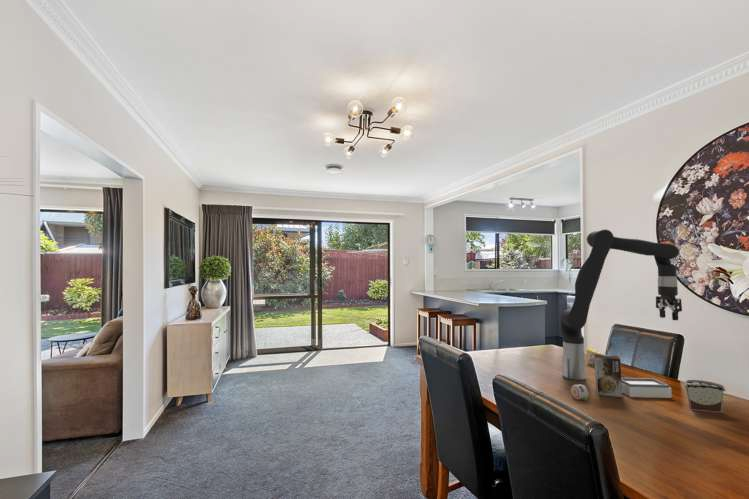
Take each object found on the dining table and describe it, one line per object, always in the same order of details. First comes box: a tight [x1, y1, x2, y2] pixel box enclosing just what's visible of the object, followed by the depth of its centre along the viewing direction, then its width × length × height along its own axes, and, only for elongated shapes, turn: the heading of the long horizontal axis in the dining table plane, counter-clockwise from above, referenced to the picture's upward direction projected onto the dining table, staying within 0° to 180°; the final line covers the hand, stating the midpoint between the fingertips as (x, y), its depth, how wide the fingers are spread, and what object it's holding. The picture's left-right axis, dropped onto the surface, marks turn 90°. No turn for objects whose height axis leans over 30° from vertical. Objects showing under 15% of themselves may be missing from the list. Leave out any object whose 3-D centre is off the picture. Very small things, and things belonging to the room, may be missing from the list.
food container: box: [683, 379, 726, 414], centre depth 142 cm, size 12×6×10 cm, turn 71°
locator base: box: [621, 377, 672, 399], centre depth 158 cm, size 16×11×5 cm, turn 85°
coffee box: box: [594, 353, 623, 398], centre depth 158 cm, size 9×6×16 cm
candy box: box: [586, 348, 607, 367], centre depth 198 cm, size 16×2×8 cm, turn 6°
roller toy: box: [570, 384, 589, 401], centre depth 152 cm, size 4×6×6 cm
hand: (668, 318), depth 178 cm, fingers open, 8 cm apart
